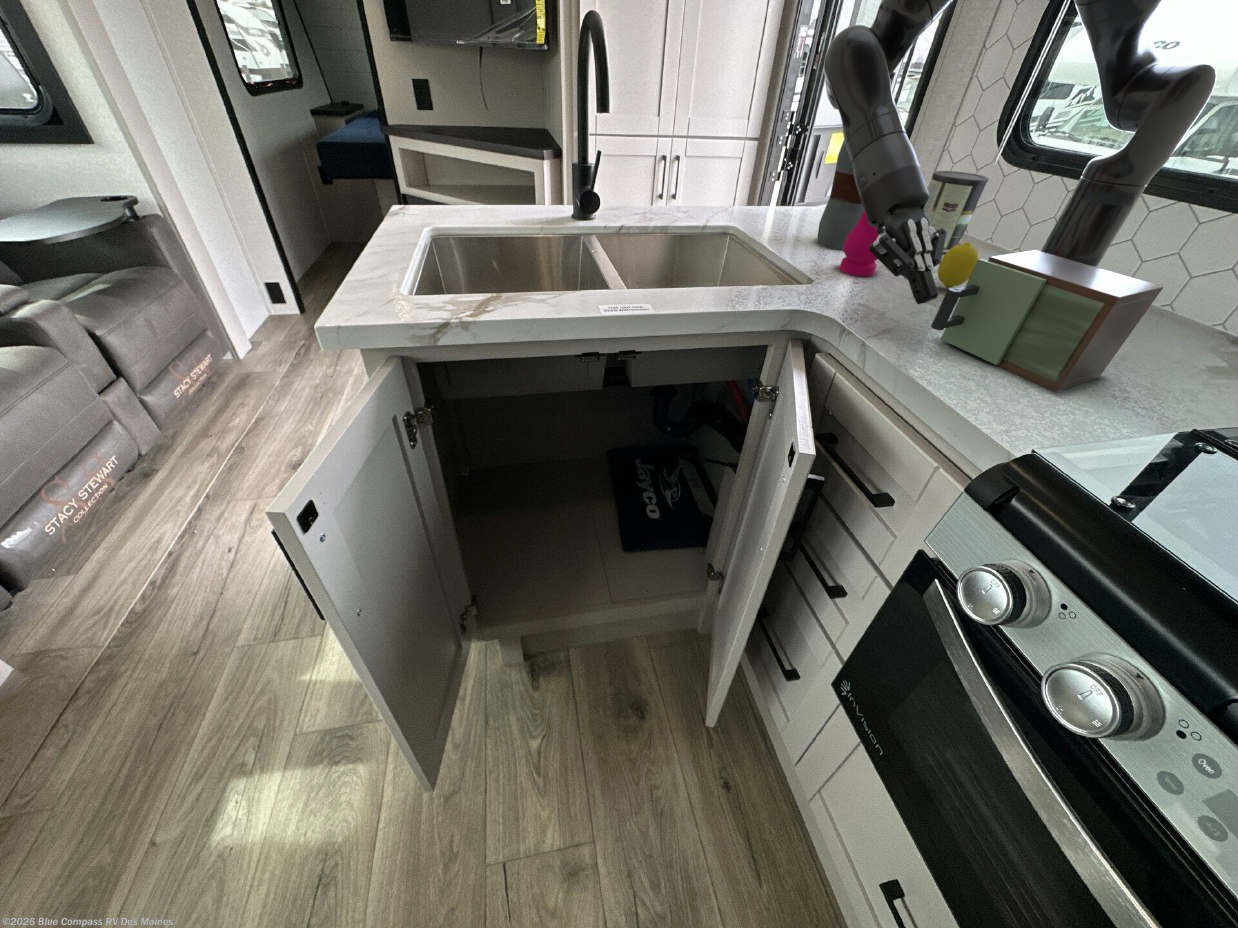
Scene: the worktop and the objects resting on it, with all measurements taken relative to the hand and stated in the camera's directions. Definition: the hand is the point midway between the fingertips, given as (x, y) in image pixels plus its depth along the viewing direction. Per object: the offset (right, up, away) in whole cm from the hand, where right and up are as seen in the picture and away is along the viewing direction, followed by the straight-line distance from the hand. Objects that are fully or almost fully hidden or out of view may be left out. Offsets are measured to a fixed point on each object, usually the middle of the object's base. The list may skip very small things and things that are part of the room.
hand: (928, 301), depth 69 cm
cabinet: (+13, -8, +1) cm, 16 cm away
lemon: (+17, +9, +23) cm, 30 cm away
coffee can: (+28, +26, +45) cm, 59 cm away
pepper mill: (+4, +15, +29) cm, 32 cm away
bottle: (+6, +26, +43) cm, 50 cm away
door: (+4, -7, +1) cm, 8 cm away
